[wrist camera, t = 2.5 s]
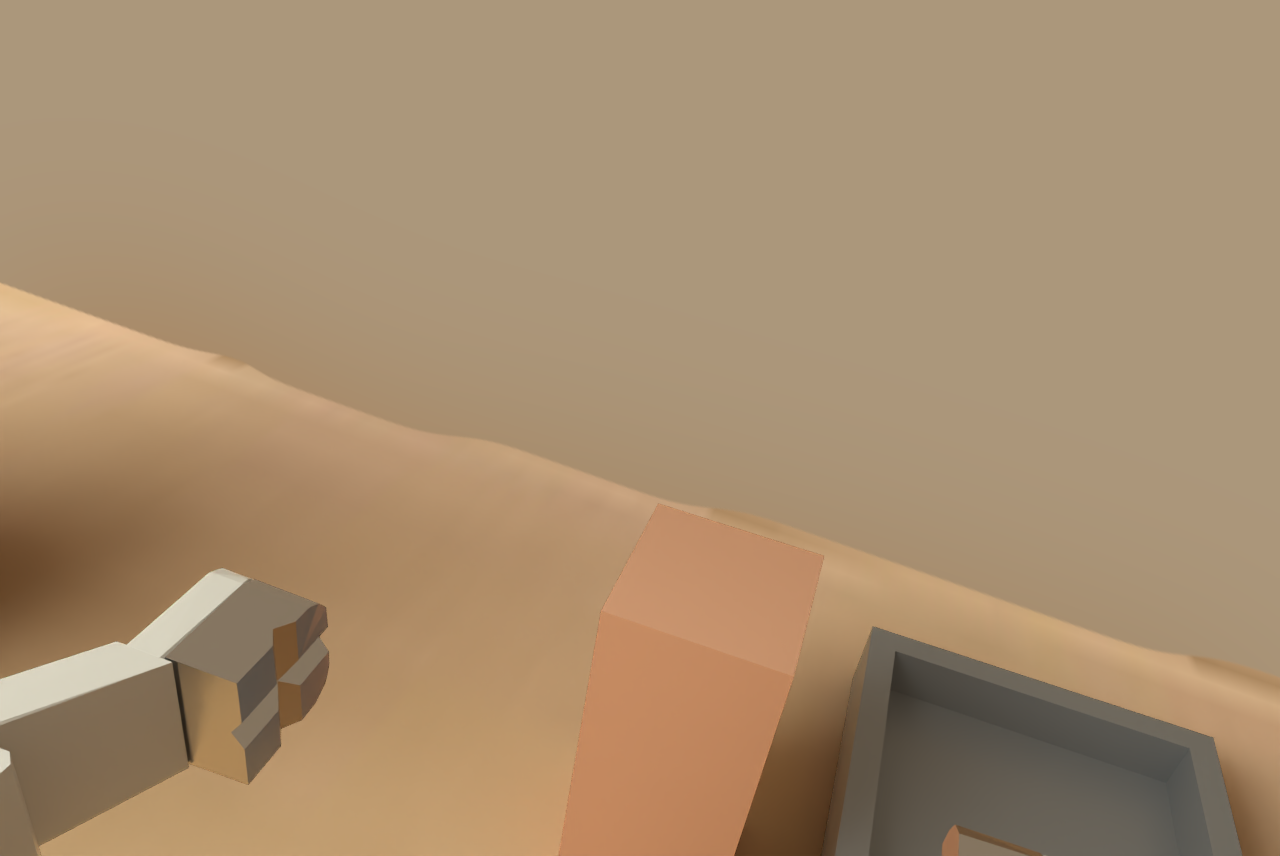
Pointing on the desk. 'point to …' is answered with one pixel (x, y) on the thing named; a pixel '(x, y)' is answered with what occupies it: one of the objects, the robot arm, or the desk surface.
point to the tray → (1013, 765)
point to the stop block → (686, 689)
